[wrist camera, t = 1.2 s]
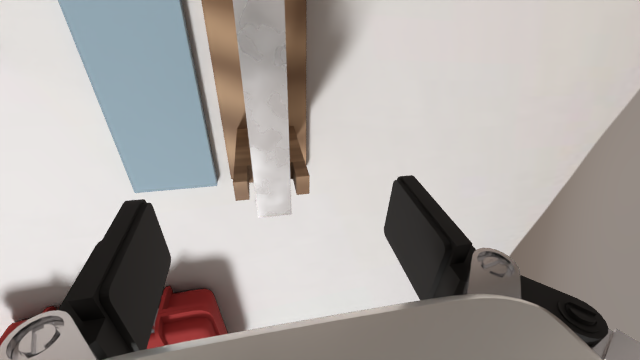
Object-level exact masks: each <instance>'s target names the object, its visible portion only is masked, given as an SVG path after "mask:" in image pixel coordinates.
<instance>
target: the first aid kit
mask: <svg viewBox="0 0 640 360" xmlns="http://www.w3.org/2000/svg"><path fill="white" fill-rule="evenodd" d="M56 310H57V309H56V308H55V307H54V306H51V307H47V308H46V309H45V310H44V311H43V312H42V313H45V312H48V311H56ZM27 320H28V319H27ZM27 320H23V321H19V322H16V323H12V324H11V325H10V326H9V327H8V328H7V329H6V331H5V332H4V334H3V335H2V336H1V338H0V346H1V344H2V343H3V341H4V340H5V339H6V337H7V336H8V335H9V334H10V333H11V332H12V331H13V330H14V329H16V328H17V327H18V326H19V325H21V324H22V323H24V322H25V321H27ZM225 334H228V333H227V330H226V327H225V324H224V322H223V319H222V316H221V313H220V310H219V308H218V305H217V302H216V299H215V297H214V294H213V293H212V291H210V290H208V289H197V290H191V291H186V292H180V293H173V291H172V289H171V287H170V286H167V287H165V289H164V292H163V295H162V296H161V299H160V303H159V306H158V310H157V313H156V317H155V321H154V324H153V328H152V331H151V335H150V338H149V342H148V346H147V349H150V348H156V347H161V346H166V345H171V344H176V343H181V342H186V341H191V340H197V339H202V338H208V337H213V336H219V335H225Z"/></svg>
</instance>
